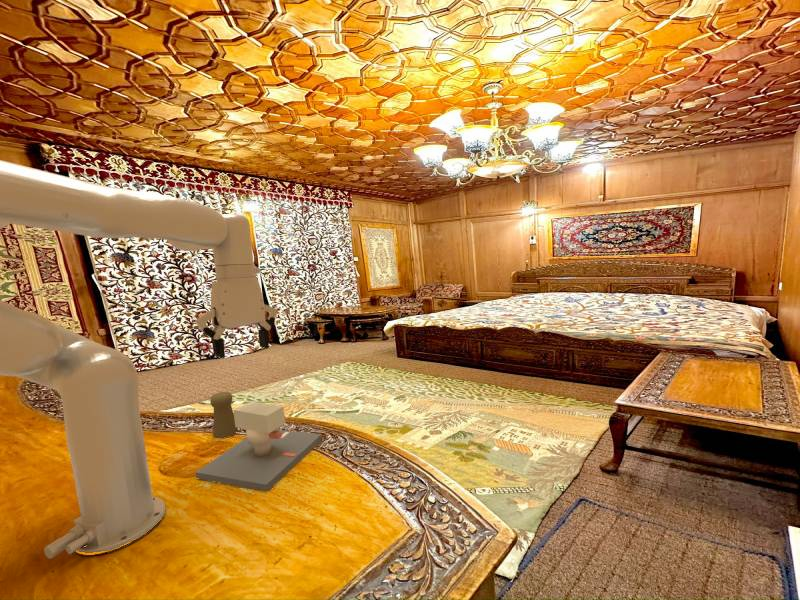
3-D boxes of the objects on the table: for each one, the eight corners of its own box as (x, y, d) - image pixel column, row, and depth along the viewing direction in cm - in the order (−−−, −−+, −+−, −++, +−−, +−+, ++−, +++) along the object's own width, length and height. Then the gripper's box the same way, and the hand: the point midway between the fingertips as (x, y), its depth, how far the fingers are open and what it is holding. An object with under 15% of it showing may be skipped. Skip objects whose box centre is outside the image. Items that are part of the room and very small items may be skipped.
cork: (219, 441, 90) (214, 399, 89) (208, 435, 94) (203, 395, 92) (242, 431, 95) (237, 391, 94) (231, 425, 98) (226, 387, 97)
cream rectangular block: (235, 440, 80) (231, 411, 79) (256, 428, 85) (252, 400, 84) (270, 448, 75) (266, 417, 74) (290, 435, 80) (286, 405, 80)
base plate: (267, 491, 68) (264, 469, 68) (196, 479, 74) (193, 458, 74) (322, 440, 87) (320, 422, 87) (261, 433, 93) (259, 416, 92)
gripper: (265, 272, 85) (271, 342, 87) (184, 276, 72) (194, 358, 74) (281, 271, 80) (288, 345, 82) (197, 276, 67) (207, 364, 69)
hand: (243, 352), depth 78 cm, fingers open, 9 cm apart
